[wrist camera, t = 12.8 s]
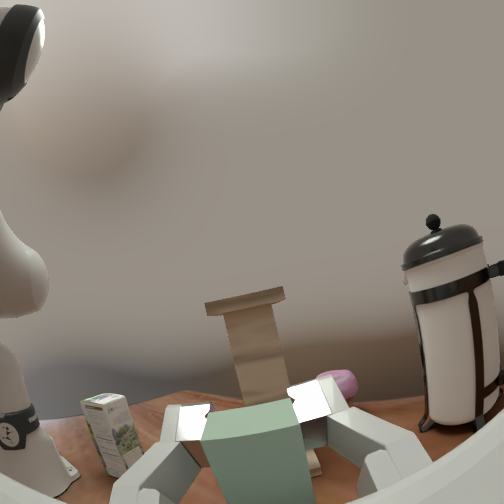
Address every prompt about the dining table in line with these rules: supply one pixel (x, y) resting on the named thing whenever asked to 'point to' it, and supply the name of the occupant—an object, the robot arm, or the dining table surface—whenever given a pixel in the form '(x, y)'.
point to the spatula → (258, 454)
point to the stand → (257, 350)
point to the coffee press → (455, 323)
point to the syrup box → (112, 432)
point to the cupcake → (344, 383)
